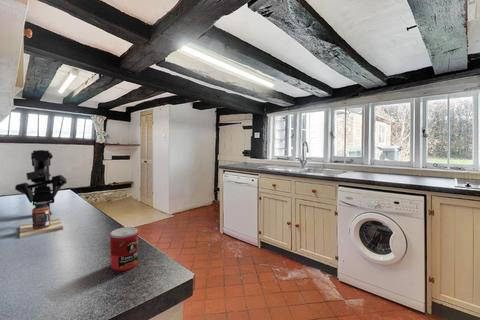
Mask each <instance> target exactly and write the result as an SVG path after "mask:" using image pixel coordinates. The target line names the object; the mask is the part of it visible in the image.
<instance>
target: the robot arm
mask: <svg viewBox="0 0 480 320" xmlns="http://www.w3.org/2000/svg"><path fill="white" fill-rule="evenodd" d="M30 153H31V154H30V159H31V166H32V167H33V171H30V172H27V173H26V174H25V175H26V178H27V181H30V182H32V183H27V182H20V183H19V184H16V185H15V187H14V190H15V191H17V192H18V193H19V192H20V193H21V194H25V196H26V198H27V200H28V202H29V203H31V204H32V206H34V207H35V203H38V202H47V206H48V207H49V208H50V209H51V204H54V203H55V197H56V195H57V194H58V192H59V191H60V189H61V188H62V187H63V186H65V184H67V183H68V182H67V178H66V177H65V176H63V175H61V174H59V175H53V176H52V175H51V174H50V166H51V160H52V159H53V154H52V152H50V150H44V149H39V150H32V152H30ZM51 176H52V177H51ZM50 177H51V179H50ZM48 185H52V188H51V186H48ZM33 189H34V190H33ZM51 215H52V211H51V210H50V216H51Z"/></svg>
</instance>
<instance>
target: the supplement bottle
mask: <svg viewBox="0 0 480 320" xmlns="http://www.w3.org/2000/svg"><path fill="white" fill-rule="evenodd" d="M34 203H35V205H34V207H33V208H32V209H31V218H32V220H31V221H32V222H31V223H33V229H42V228H47V227H49V226H50V220H51V215H50V211H51V207H50V208H49V207H48V206H47V202H38V203H36V202H34Z"/></svg>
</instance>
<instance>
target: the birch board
mask: <svg viewBox="0 0 480 320" xmlns="http://www.w3.org/2000/svg"><path fill="white" fill-rule="evenodd" d="M62 230H64V226H63V224H62V222H61V220H60V218H53V219H51V218H50V226H49V227H47V228H42V229H33V223H32V222H29V223H23V224H22V223H21V224H20V225H19V239H24V238H27V237H33V236H38V235H43V234H48V233H53V232H59V231H62Z"/></svg>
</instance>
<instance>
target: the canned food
mask: <svg viewBox="0 0 480 320" xmlns="http://www.w3.org/2000/svg"><path fill="white" fill-rule="evenodd" d="M138 230H139V229H138V228H137V227H133V226H125V227H120V228H117V229H113V230H112V231H111V232H110V233H109V234H110V235H109V239H110V240H109V241H110V244H109V245H110V267H111V270H113V271H114V272H125V271H129V270H131V269H133V268H136V266H137V265H138V264H139V233H138Z"/></svg>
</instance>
